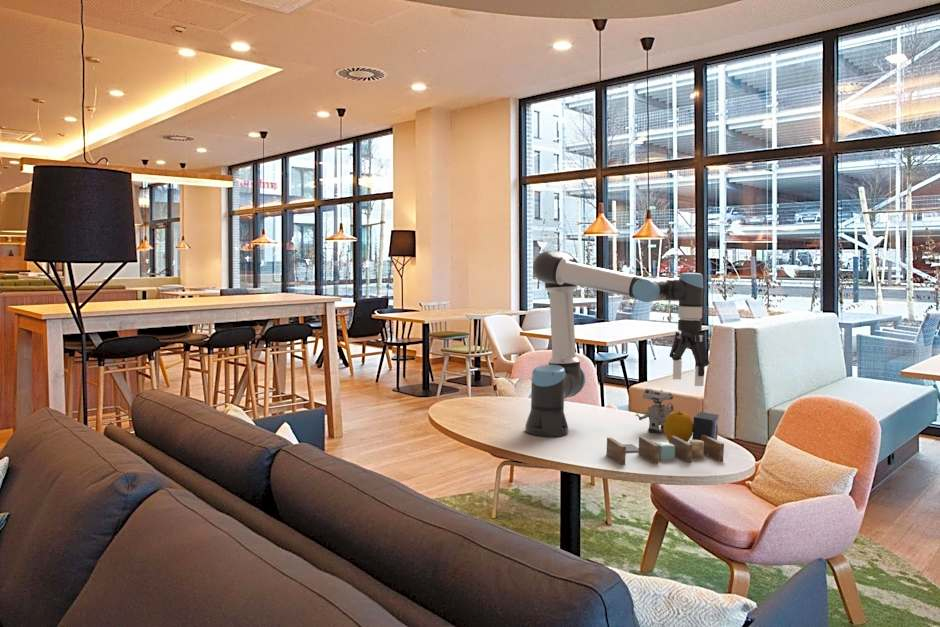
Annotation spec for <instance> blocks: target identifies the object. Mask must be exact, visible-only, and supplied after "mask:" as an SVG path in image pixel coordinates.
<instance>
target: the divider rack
mask: <svg viewBox="0 0 940 627" xmlns="http://www.w3.org/2000/svg"><path fill="white" fill-rule="evenodd" d="M701 441H704V453H703V455H706V456H708V457H711V458H712V459H714V460H716V461H718V462H724V451H725V443H724V442H722V441H719V440H718V439H717V440H715V439H713V438H711V437H709V436H707V435H701ZM670 443H671V444H673V445H674V446H675V457H676V458H678V459H680V460H682V461H684V462H685V463H692V458H691V456H692V444H690V443H689V441H688V442H686V441H684V440H682V439H680V438H678V437H676V436H670ZM638 448H639V451H638V452H637V453H638V454H639V455H640V456H642V457H644V458H645V459H647V460H648V461H650V462H651V463H652V464H655V463H656V464H659V462H660V459H659V445H657V444H656V443H655V442H654V441H652V440H650V439H648V438H647V437H645V436H638ZM626 455H627V453H626V446H624V445H622V443H621V442H619V441H617V440H616V439H614V438H613V437H606V456H607V457H609V458H610V459H612V461H613V460H614V461H615V462H616V463H618V464H619V465H621V466H622V465H626V457H627V456H626Z"/></svg>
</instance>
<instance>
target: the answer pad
mask: <svg viewBox="0 0 940 627" xmlns="http://www.w3.org/2000/svg"><path fill="white" fill-rule="evenodd" d="M621 444H622V443H621ZM622 445H624V446H626V454H627V453H631V454H632V453H638V451H639V447H638V446H636V445H634V444H633V443H629V444H628V443H627V444H625V443H623V444H622Z"/></svg>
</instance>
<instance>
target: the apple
mask: <svg viewBox="0 0 940 627" xmlns="http://www.w3.org/2000/svg"><path fill="white" fill-rule="evenodd" d="M662 430H663V433H664V435H665V437H666V440H667V442H669V443H670V436H676V437H678V438H680V439H682V440H684V441H686V442H688V443H689V440H691V439H692V436H693V419H692V418H691V416H690V414H689V413H687V412H685V411H680V410H679V411H674V412H671V413H670V414H668V416H667V417H666V419H665V422H664V424H663V429H662Z"/></svg>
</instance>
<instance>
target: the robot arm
mask: <svg viewBox="0 0 940 627" xmlns="http://www.w3.org/2000/svg"><path fill="white" fill-rule="evenodd" d="M532 270H533V274H534V276H535V277H536V279H538V280H539V281H540V282H542V283H544V288H545V290H546V291H547V292H548V294H549V308H550V309H549V310H550V311H549V312H550V332H551V336H550V337H551V352H552V353H551V354H552V355H551V358H550V359H549V360H548V364H545V365H544V364H542V365H538V366H536V367H534V368H533V370H532V374H531V393H530V394H531V396H530V397H531V398H530V412H529V414H528V416H527V420H526V423H525V433H527V434H529V435H533V436H538V437H549V438H551V437H552V438H553V437H556V438H557V437H562V436H566V435H568V434H569V424H568V422H567V418H566V414H565V411H564V410H565V409H564V408H565V399H567V398H572V397H574V396H576V395H578V394H579V393H580V392H581V391H582V390H583V388H584V387H585V385H586V374H585V372H584V369H582V368H581V361H580V359H579V358H578V357H577V356H576V339H575V318H574V317H575V316H574V312H575V311H574V291H575V290H576V288H577V287H581V288H582V287H583V288H587V289H592V290H596V291H600V292H605V293H610V294H614V295H619V296H623V297H627V298H632V299H635V300H637V301H639V302H642V303H650V302H656V301H660V302H661V301H668V302H669V301H670V302H671V301H674V302H678V315H677V316H678V318H679V319H678V321H677V330H678V331H676V332H675V333H674V340H673V342H672V346H671V350H670V352H669V358H672V360H673V365H672V371H673V372H672V380H682V366H683V365H682V363H683V362H682V361H683V359H682V357H683V354H685V352H686V350H687V348H689V350H691V353H692V355H693V358H694V360H695V363H696V364H695V368H694V370H695V371H694V372H695V374H694V386H695V387H704V382H705V381H704V380H705V377H704V376H705V367H706V366H708V365H710V361H709V355H708V352H707V348H706V343H705V335H699V332H701V331H702V328H703V327H702V326H703V323H702V322H703V321H702V320H701V319H702V318H703V302H704V301H703V299H704V276H703V274H702V273H700V272H699V273H698V272H682V273H681V272H680V274H679V277H677V278H669V277H668V278H666V277H645V276H640V275H636V274H631V273H626V272H621V271H617V270H612V269H606V268H602V267H597V266H593V265H588V264H583V263H580V261H579V260H578V258H577V257H576V256H575V255H574V254H573V253H570V252H566V251H555V250H554V251H553V250H547V251H546V250H545V251H542V252H541V253H539V254H538V255H537V256H536V257H535V259H534V261H533V264H532Z"/></svg>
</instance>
